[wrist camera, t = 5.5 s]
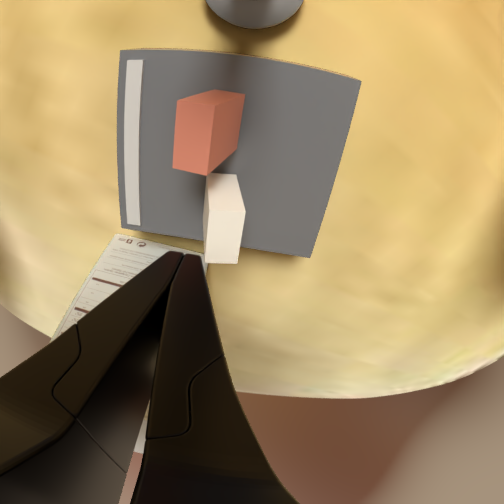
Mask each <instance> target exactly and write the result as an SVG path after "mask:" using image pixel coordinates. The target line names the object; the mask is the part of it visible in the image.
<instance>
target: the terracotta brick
mask: <svg viewBox="0 0 504 504" xmlns="http://www.w3.org/2000/svg"><path fill="white" fill-rule="evenodd" d="M244 99H245V94H241V93H235V92H229V91H223V90H216V89H214V90H210V91H207V92H203V93H200V94H196V95H193V96H189V97H186V98H183V99H180V100H177V108H176V120H175V134H174V149H173V168H174V169H179V170H184V171H188V172H192V173H197V174H201V175H205V176H207V175H208V174H210V173H211V172H212V171H213V170H214V169H215V168H216V167H217V166H218V165H219V164H221V163H222V162H223V161H224V160H225V159H226V158H227V157H228V156H229V155H231V154H232V153H233V152H234V151H235V150H236V149H237V145H238V138H239V131H240V125H241V118H242V112H243V106H244Z"/></svg>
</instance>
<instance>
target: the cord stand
mask: <svg viewBox="0 0 504 504" xmlns="http://www.w3.org/2000/svg"><path fill="white" fill-rule="evenodd" d="M206 2H207V3H208V5H209V7H210V8H211V9H212V10H213V11H214V12H215V13H216V14H217V15H218V16H220V17H221V18H222V19H224V20H225V21H227V22H229V23H231V24H233V25H236V26H239V27H243V28H249V29H262V28H268V27H272V26H275V25H278V24H280V23H282V22H284V21H286V20H287V19H289V18H290V17H291V16H293V15H294V14H295V13H296V11H297V10H298V9H299V7H300V6H301V4H302V2H303V0H206Z"/></svg>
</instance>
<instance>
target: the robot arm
mask: <svg viewBox="0 0 504 504" xmlns="http://www.w3.org/2000/svg"><path fill="white" fill-rule="evenodd" d="M149 401H150V404H149ZM148 404H149V411H148V419H147V427H146V435H145V439H146V441H145V444H144V452H143V458H142V463H141V468H140V472H139V475H138V478H137V482H136V486H135V489H134V492H133V496H132V499H131V502H130V504H300V503H299V502H298V501H297V500H296V499H295V498H294V497H293V496H292V495H291V494H290V493H289V491H288V490H287V489H286V488H285V487H284V486H283V484H282V483H281V482H280V480H279V479H278V477H277V476H276V474H275V473H274V471H273V469H272V468H271V466H270V464H269V462H268V460H267V459H266V457H265V455H264V453H263V451H262V449H261V447H260V444H259V443H258V440H257V438H256V436H255V434H254V432H253V430H252V428H251V426H250V424H249V422H248V420H247V418H246V415H245V413H244V411H243V409H242V406H241V404H240V401H239V399H238V396H237V394H236V391H235V388H234V385H233V382H232V379H231V376H230V373H229V369H228V365H227V362H226V358H225V357H224V351H223V347H222V343H221V339H220V335H219V331H218V327H217V323H216V319H215V315H214V311H213V306H212V302H211V298H210V294H209V289H208V285H207V281H206V276H205V272H204V267H203V263H202V258H201V256H200V255H195V254H189V253H187V254H185V255H184V253H183V252H177V251H168V252H166V253H165V254H163V255H162V256H161V257H159V258H158V259H157V260H155V261H154V262H153V263H151V264H150V265H149V266H147V267H146V268H145V269H143V270H142V271H141V272H139V273H138V274H137V275H135V276H134V277H133V278H132V279H130V280H129V281H128V282H126V283H125V284H124V285H122V286H121V287H120V288H119V289H117V290H116V291H115V292H113V293H112V294H111V295H110V296H108V297H107V298H106V299H104V300H103V301H102V302H101V303H99V304H98V305H97V306H96V307H94V308H93V309H92V310H91V311H89V312H88V313H87V314H86V315H84V316H83V317H82V318H81V319H79V320H78V321H77V324H73V325H72V326H71V327H69V328H68V329H67V330H66V331H65V332H63V333H62V334H61V335H59V336H58V337H57V338H56V339H54V340H53V341H52V342H51V343H49V344H48V345H47V346H45V347H44V348H42V349H41V350H40V351H38V352H37V353H35V354H34V355H33V356H31V357H30V358H28V359H27V360H25V361H24V362H22V363H21V364H19V365H18V366H16V367H15V368H14V369H12V370H11V371H9V372H8V373H6V374H5V375H4V376H2V377H1V378H0V504H118V503H119V499H120V496H121V493H122V489H123V486H124V482H125V478H126V473H127V471H128V468H129V465H130V461H131V458H132V454H133V451H134V448H135V445H136V441H137V438H138V435H139V432H140V428H141V425H142V422H143V419H144V416H145V413H146V410H147V407H148Z"/></svg>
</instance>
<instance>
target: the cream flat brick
mask: <svg viewBox="0 0 504 504" xmlns="http://www.w3.org/2000/svg"><path fill="white" fill-rule="evenodd" d="M245 213H246V211H245V207H244V203H243V199H242V196H241V192H240V188H239V184H238V180H237V176H236V174H220V173H210V174H208V175H207V177H206V188H205V198H204V210H203V237H204V259H205V263H225V264H237V262H238V255H239V249H240V243H241V237H242V231H243V225H244V219H245Z"/></svg>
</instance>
